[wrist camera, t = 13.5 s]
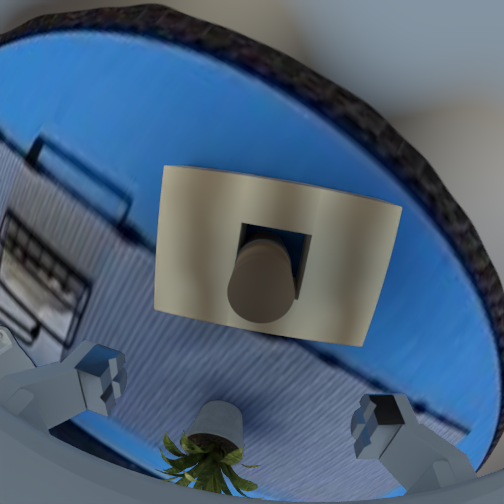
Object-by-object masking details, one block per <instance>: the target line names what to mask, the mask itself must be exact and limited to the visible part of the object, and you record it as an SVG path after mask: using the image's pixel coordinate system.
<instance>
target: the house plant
mask: <svg viewBox="0 0 504 504" xmlns="http://www.w3.org/2000/svg"><path fill="white" fill-rule="evenodd" d="M163 442H164V445H165V448H166V449H167V450H168V451H169V452H171V453H172V454H174V455H175V456H178V457H182V458H179V459H176V460H171V459H168V458H166V457H165V455H164V454H163V452H162V450H161V449H160V447H159V446H158V447H159V449H160V452H161V455H162V458H163V459H164V460H165V462H167V463H168V464H170V465H171V466H172V468H170V469H167V470H164V471H166V472H168V473H166V472H162V471H160V472H162V473H165V474H167V475H172V476H177V477H183V478H182V479H180V480H179V481H178V482H176V483H175V484H178V485H182V486H186V487H187V486H188V485H189V484H190V482H191V481H196V483H195V485H194V487H193V488H194V489H199V490H201V489H202V490H204V491H208V492H214V493H219V494H222V493H221V490H222V491H223V492H224V493H225V494H226V495H231V496H233V495H232V494H231V492H230V490H229V489H228V487H227V485H226V483H225V480H224V478H223V475H222V473H221V469H222V472H223V473H224V474H225V475H226V476H227V477H228V478H229V479H230V481H231V482H232V484H233V486H234V487H235V489H236V490H237V491H238V492H239V493H240V494H241V495H243V496H245V497H247V496H246V495H244V494H243V493H242V492H241V491H240V489H241V490H243V491H252V490H255V489H256V488H258V486H257V485H256V484H254V483H253V482H251V481H248V480H245V479H242V478H240V477H239V476H238V475H237V474H236V473H235V472H234V471H233V469H232V467H231V466H233V465H236V464H238V463H239V462H240V461H241V460H242V459H243V457H244V446H245V445H244V443H243V421H242V413H241V411H240V410H239V409H238V408H237V407H236V406H234V405H233V404H231V403H228V402H225V401H217V400H216V401H210V402H208V403H206V404H205V405H204V406H203V407H202V409H201V411H200V412H199V414H198V415H197V417H196V419H195V420H194V422H193V423H192V425H191V427H190V428H189V430H188V431H187V433H186V434H185V433H184V430H183V436H182V438H181V440H180V444H181V446H182V448H183V450H184V451H185V452H186V455H185V454H183V453H181V452H180V450H179V449H178V448H177V447H176V446H175V444H174V443H173V442H172V441H171V440H170V439H169V437H168V435H167V434H166V433H165V436H164V439H163ZM187 455H188V456H187ZM184 456H185V457H184ZM198 462H199V463H198ZM197 463H198V464H197ZM196 464H197V465H196ZM194 465H196V466H195V467H193V468H192V469H191V470H189V471H188V472H185V471H184V474H176V473H180V472H182V471H183V470H185V469H186V468H189V467H192V466H194ZM241 465H243V464H241ZM243 466H245V467H248V468H252V467H258V466H260V465H249V466H248V465H243ZM220 467H221V468H220ZM157 471H159V470H157ZM177 477H174V478H170V479H166V480H163V481H169V480H172V479H175V478H177ZM197 477H198V478H197ZM195 478H197V480H195ZM202 486H203V487H202ZM238 487H239V488H240V489H239V488H238ZM248 498H250V497H248ZM253 499H262V498H253Z"/></svg>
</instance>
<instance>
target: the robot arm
mask: <svg viewBox="0 0 504 504" xmlns="http://www.w3.org/2000/svg"><path fill="white" fill-rule="evenodd" d="M124 364H125V354H124V353H122V352H120V351H117V350H114V349H111V348H108V347H105V346H103V345H100V344H96V343H94V342H91V341H88V340H85V341H83V342H82V343H81V344H80V345H79V346H78V347H77V348H76V349H75V350H74V351H73V352H72V353H71V354H70V355H69V356H68V357H67V358H66V359H65V360H64V361H63V362H62V363H60V362H55V363H51V364H47V365H44V366H40V367H35V366H34V364H33V363H32V361H31V360H30V359H29V358H28V356H27V355H26V354H25V353H24V352H23V350H22V349H21V348H20V347H19V346H18V344H17V343H16V341H15V339H14V337H13V336H12V334H11V332H10V331H9V330H8V329H7V328H6V327H3V326H0V504H504V468H503V469H501V470H498V471H496V472H493V473H490V474H487V475H484V476H481V477H477V475H476V473H475V471H474V469H473V467H472V465H471V462H470V460H469V458H468V456H467V454H465V453H464V452H462V451H461V450H459V449H458V448H456V447H455V446H453V445H452V444H451V443H449V442H448V441H446V440H445V439H443V438H442V437H441V436H439V435H438V434H436V433H435V432H434V431H432V430H431V429H429V428H428V427H426V426H425V425H424V424H419V423H418V421H417V418H416V416H415V414H414V412H413V410H412V408H411V406H410V403H409V401H408V399H407V397H406V395H404V394H364V395H363V396H362V398H361V400H360V406H361V407H360V408H359V409H357V410H356V411H355V412H354V414H353V416H352V420H351V435H352V436H353V437H354V438H355V439H356V442H355V444H354V449H355V453H356V458H357V459H379V461H380V462H381V463H382V464H383V465H384V466H385V467H386V469H387V470H388V471H389V472H390V473H391V474H392V475H393V476H394V477H395V478H396V480H397V481H398V482H399V483H400V484H401V485H402V486H403V487H404V488H405V489H406V490H407V492H406V493H405V494H404V495H403V496H397V497H390V498H382V499H373V500H362V501H347V502H290V501H274V500H263V499H253V498H245V497H238V496H231V495H225V494H219V493H214V492H208V491H204V490H199V489H194V488H190V487H186V486H182V485H178V484H174V483H170V482H166V481H163V480H159V479H156V478H153V477H149V476H146V475H143V474H140V473H137V472H134V471H131V470H128V469H125V468H123V467H120V466H117V465H115V464H112V463H110V462H107V461H105V460H102V459H100V458H97V457H95V456H93V455H90V454H88V453H86V452H84V451H81V450H79V449H77V448H75V447H73V446H71V445H69V444H67V443H65V442H63V441H61V440H59V439H57V438H55V437H53V436H51V435H50V433H49V431H48V429H50V428H52V427H54V426H56V425H58V424H60V423H62V422H64V421H66V420H68V419H70V418H72V417H74V416H76V415H78V414H80V413H82V412H84V411H86V410H87V409H88V410H91V411H94V412H96V413H99V414H102V415H105V416H107V417H108V416H109V414H110V413H111V411H112V410H113V408H114V406H115V405H116V403H115V399H116V398H118V397H120V396H121V395H122V394H123V392H124V390H125V387H126V384H127V372H126V371H125V369H124V368H123V365H124Z"/></svg>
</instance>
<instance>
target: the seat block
mask: <svg viewBox="0 0 504 504" xmlns="http://www.w3.org/2000/svg"><path fill="white" fill-rule="evenodd" d="M401 212H402V207H401V206H398V205H395V204H393V203H390V202H387V201H384V200H381V199H377V198H373V197H368V196H364V195H360V194H355V193H351V192H346V191H341V190H337V189H332V188H327V187H322V186H317V185H312V184H306V183H301V182H296V181H290V180H284V179H279V178H273V177H267V176H261V175H254V174H248V173H241V172H234V171H227V170H220V169H212V168H204V167H196V166H188V165H164V171H163V180H162V189H161V198H160V209H159V220H158V233H157V248H156V266H155V292H154V310H158V311H162V312H167V313H171V314H175V315H179V316H184V317H188V318H193V319H197V320H202V321H206V322H211V323H216V324H221V325H226V326H231V327H236V328H241V329H247V330H252V331H258V332H263V333H269V334H275V335H281V336H287V337H293V338H300V339H306V340H313V341H320V342H328V343H335V344H343V345H351V346H360V347H362V345H363V342H364V340H365V337H366V334H367V331H368V329H369V326H370V323H371V320H372V317H373V314H374V311H375V308H376V305H377V302H378V299H379V295H380V292H381V289H382V286H383V282H384V279H385V275H386V272H387V268H388V265H389V261H390V258H391V254H392V250H393V246H394V242H395V238H396V234H397V230H398V225H399V221H400V217H401ZM247 224H253V225H258V226H264V227H270V228H276V229H281V230H287V231H292V232H298V233H304V234H305V237H304V242H303V247H302V252H301V257H300V262H299V266H298V271H297V276H296V278H295V277H292V278H293V284H294V289H295V296H294V301H293V304H292V306H291V308H290V309H289V311H288V312H287V313H286V314H285V315H284V316H283V317H281V318H280V319H278V320H276V321H273V322H270V323H253V322H250V321H247V320H245V319H243V318H241V317H240V316H239V315H237V314H236V313H235V312H234V310H233V309H232V307H231V306H230V303H229V301H228V297H227V288H228V284H229V281H230V278H231V275H232V272H233V269H234V267H235V260H236V257H237V255H238V253H239V251H240V249H241V248H242V246H243V244H244V243H245V236H246V230H247Z"/></svg>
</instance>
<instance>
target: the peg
mask: <svg viewBox="0 0 504 504" xmlns="http://www.w3.org/2000/svg"><path fill="white" fill-rule="evenodd" d="M291 268H292V266H291V259H290V256H289V254H288V251H287V249H286V247H285V245H284V244H283V243H282V240H281V239H280V237H279V236H278V235H277V234H276V233H274V232H272V231H269V230H261V231H257V232H255V233H254V234H252V235H251V236H250V237H249V239H248V240H247V241H246V242H245V243H244V244H243V246H242V248H241V249H240V251H239V253H238V255H237V257H236V260H235V267H234V269H233V272H232V275H231V278H230V281H229V284H228V288H227V297H228V301H229V303H230V306H231V307H232V309H233V310H234V312H235V313H236V314H237V315H239V316H240V317H241V318H243V319H245V320H247V321H250V322H253V323H270V322H273V321H276V320H278V319H280V318H281V317H283V316H284V315H285V314H286V313H287V312H288V311H289V309H290V308H291V306H292V304H293V301H294V296H295V289H294V284H293V278H292V272H291Z"/></svg>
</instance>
